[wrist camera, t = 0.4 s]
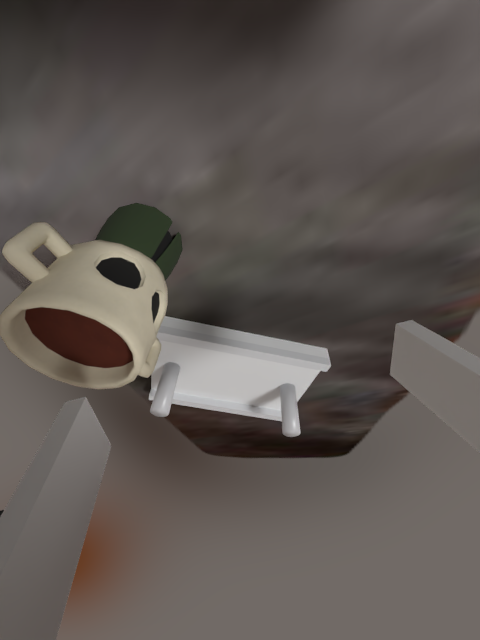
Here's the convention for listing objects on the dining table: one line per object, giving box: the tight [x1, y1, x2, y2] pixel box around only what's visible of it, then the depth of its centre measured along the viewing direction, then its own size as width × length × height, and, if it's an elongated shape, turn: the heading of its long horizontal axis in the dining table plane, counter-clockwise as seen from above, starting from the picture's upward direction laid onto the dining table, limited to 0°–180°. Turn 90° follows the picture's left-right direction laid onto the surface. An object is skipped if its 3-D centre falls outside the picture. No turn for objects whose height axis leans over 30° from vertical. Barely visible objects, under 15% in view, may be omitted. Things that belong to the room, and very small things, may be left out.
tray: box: [149, 316, 331, 437], centre depth 33 cm, size 14×20×8 cm
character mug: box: [0, 203, 182, 389], centre depth 19 cm, size 11×7×13 cm, turn 24°
